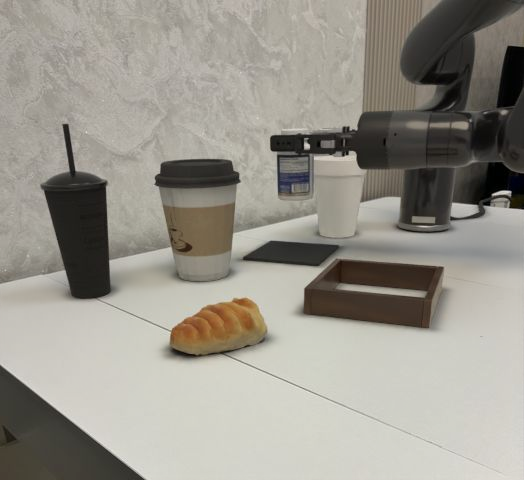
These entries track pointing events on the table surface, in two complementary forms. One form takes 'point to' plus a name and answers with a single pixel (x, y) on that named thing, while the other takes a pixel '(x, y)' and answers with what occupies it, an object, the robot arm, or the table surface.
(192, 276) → the coffee cup
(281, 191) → the pill bottle
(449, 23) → the robot arm
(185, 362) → the table surface
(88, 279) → the drinking cup
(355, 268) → the tray
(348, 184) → the foam cup
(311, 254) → the mat
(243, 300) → the pastry
